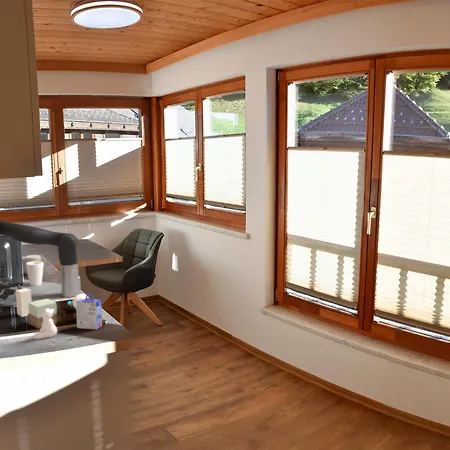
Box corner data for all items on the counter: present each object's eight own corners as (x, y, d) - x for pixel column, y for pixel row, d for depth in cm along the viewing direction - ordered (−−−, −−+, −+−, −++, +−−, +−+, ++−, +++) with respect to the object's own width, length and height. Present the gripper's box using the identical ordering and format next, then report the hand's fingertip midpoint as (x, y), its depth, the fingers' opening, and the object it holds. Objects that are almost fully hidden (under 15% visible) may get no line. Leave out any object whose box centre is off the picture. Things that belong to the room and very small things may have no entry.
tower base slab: (47, 319, 235) (46, 309, 235) (56, 323, 229) (56, 313, 229) (28, 324, 229) (27, 313, 228) (37, 328, 223) (37, 318, 222)
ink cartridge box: (102, 325, 226) (101, 294, 224) (97, 329, 221) (96, 297, 218) (82, 324, 228) (81, 293, 226) (76, 328, 223) (75, 296, 220)
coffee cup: (38, 276, 313) (37, 257, 312) (23, 276, 313) (22, 257, 312) (44, 273, 323) (43, 254, 321) (29, 273, 323) (28, 254, 321)
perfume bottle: (82, 306, 242) (61, 307, 245) (91, 312, 249) (70, 313, 252) (85, 291, 245) (64, 292, 249) (94, 297, 252) (73, 298, 255)
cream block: (27, 312, 245) (26, 288, 243) (32, 314, 242) (30, 290, 240) (17, 314, 242) (15, 290, 240) (22, 316, 238) (20, 292, 236)
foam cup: (47, 283, 296) (46, 262, 295) (34, 287, 289) (33, 265, 287) (37, 281, 301) (36, 260, 300) (23, 285, 294) (22, 263, 292)
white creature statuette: (41, 331, 219) (40, 304, 217) (61, 331, 219) (60, 305, 217) (32, 339, 210) (31, 311, 208) (53, 339, 209) (51, 311, 208)
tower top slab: (47, 308, 235) (47, 298, 234) (56, 313, 229) (56, 302, 228) (28, 313, 229) (28, 302, 228) (37, 317, 222) (37, 306, 222)
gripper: (-14, 285, 253) (-1, 291, 242) (14, 280, 263) (28, 285, 252) (-13, 299, 254) (0, 306, 243) (15, 294, 264) (29, 300, 253)
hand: (14, 296), depth 247 cm, fingers open, 8 cm apart
